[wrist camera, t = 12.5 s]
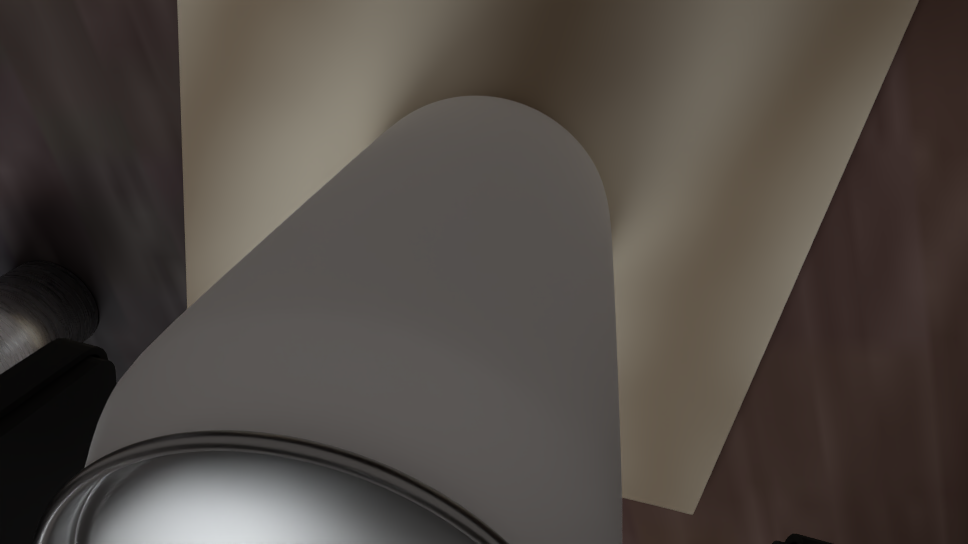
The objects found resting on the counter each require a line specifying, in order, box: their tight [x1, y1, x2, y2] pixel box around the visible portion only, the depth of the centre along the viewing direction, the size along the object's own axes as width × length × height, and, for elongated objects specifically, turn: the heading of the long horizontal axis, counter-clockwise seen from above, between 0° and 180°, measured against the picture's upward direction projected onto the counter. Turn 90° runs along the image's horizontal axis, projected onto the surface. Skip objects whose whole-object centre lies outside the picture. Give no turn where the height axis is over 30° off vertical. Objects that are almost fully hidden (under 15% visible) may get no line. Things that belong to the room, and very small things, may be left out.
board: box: [177, 0, 919, 515], centre depth 18 cm, size 16×16×1 cm
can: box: [32, 96, 622, 544], centre depth 12 cm, size 6×6×12 cm
